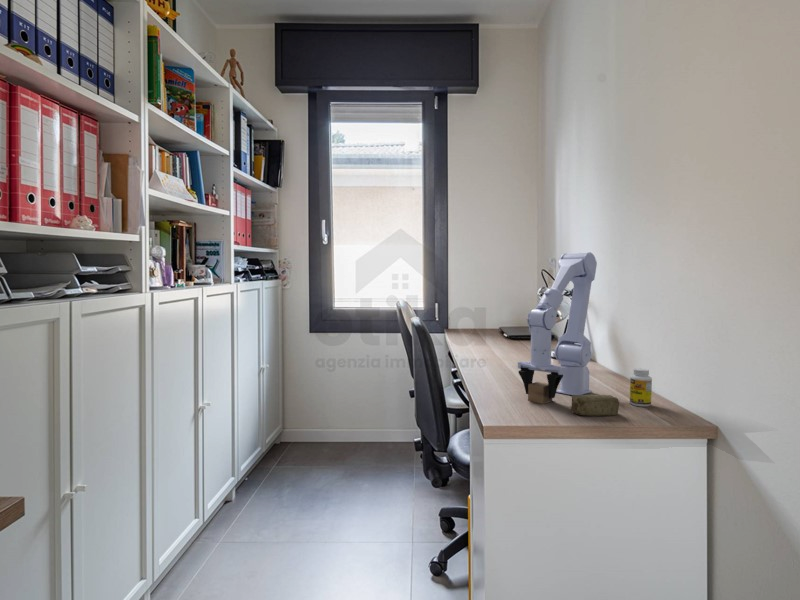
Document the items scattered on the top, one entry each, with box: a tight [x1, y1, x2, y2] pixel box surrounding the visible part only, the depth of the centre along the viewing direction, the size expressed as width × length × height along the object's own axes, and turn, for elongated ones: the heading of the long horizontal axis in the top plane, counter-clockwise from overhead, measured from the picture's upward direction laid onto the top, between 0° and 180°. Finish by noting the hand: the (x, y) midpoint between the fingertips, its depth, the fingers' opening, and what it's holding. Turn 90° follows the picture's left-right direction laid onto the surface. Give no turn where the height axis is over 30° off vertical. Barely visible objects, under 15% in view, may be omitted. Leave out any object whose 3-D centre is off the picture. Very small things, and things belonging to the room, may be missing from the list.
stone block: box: [570, 394, 620, 417], centre depth 135 cm, size 6×12×5 cm, turn 92°
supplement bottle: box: [629, 367, 653, 408], centre depth 145 cm, size 6×6×10 cm
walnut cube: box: [527, 381, 553, 405], centre depth 150 cm, size 5×5×5 cm
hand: (540, 395), depth 150 cm, fingers open, 7 cm apart
